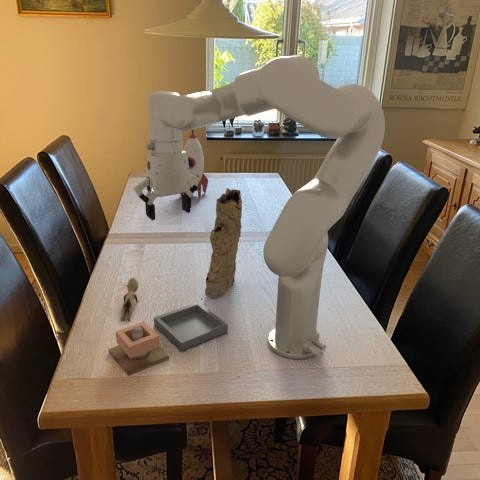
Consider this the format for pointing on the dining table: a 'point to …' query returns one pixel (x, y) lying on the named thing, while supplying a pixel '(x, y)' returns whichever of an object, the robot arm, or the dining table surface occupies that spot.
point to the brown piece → (139, 361)
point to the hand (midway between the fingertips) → (169, 214)
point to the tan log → (224, 243)
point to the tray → (190, 326)
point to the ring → (138, 346)
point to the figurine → (129, 298)
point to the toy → (196, 162)
